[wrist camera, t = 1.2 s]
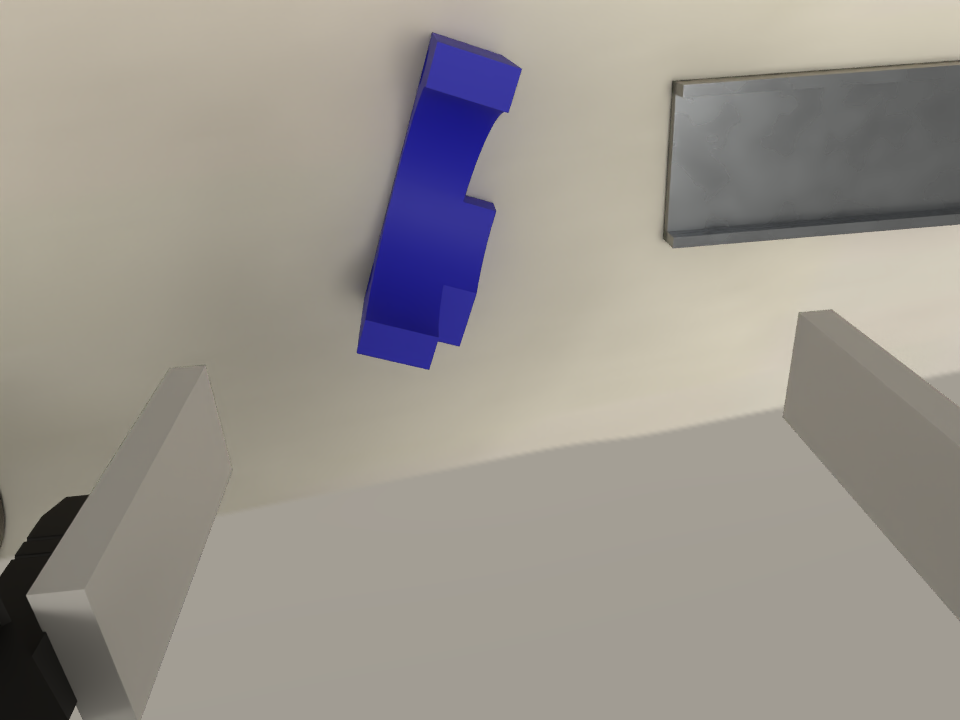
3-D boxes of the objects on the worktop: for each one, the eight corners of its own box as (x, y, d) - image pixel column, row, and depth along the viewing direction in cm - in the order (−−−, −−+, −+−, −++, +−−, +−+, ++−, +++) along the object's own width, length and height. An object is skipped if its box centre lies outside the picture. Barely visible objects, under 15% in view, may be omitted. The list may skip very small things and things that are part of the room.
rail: (663, 238, 35) (673, 248, 33) (672, 80, 31) (683, 84, 30) (969, 213, 35) (990, 221, 34) (1009, 56, 32) (1033, 59, 31)
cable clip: (455, 319, 36) (464, 377, 30) (364, 297, 35) (356, 353, 29) (535, 66, 31) (562, 82, 25) (432, 31, 30) (437, 41, 25)
